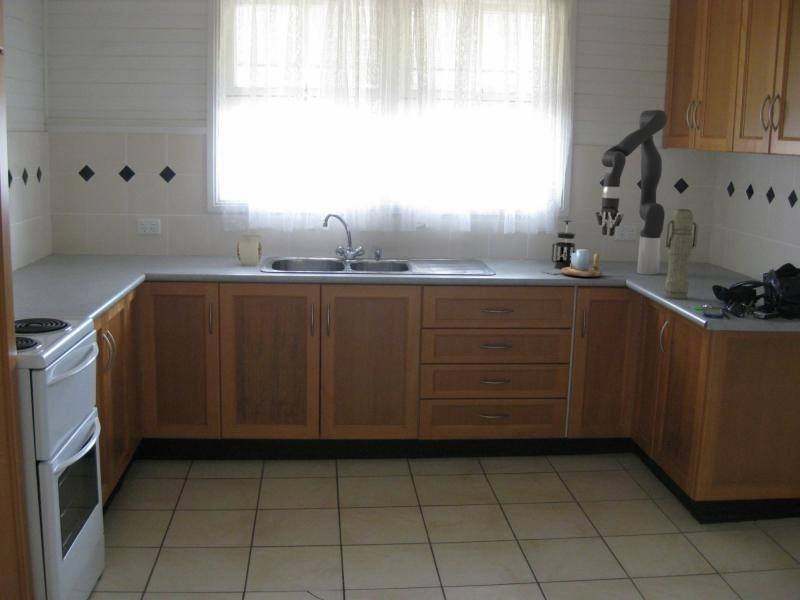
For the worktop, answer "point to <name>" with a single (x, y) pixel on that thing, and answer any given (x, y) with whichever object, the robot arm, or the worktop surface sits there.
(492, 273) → the worktop surface
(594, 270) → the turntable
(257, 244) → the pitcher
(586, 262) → the pale blue carafe
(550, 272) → the slate mat
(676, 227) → the thermos
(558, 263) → the french press
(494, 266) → the worktop surface
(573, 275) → the turntable base
